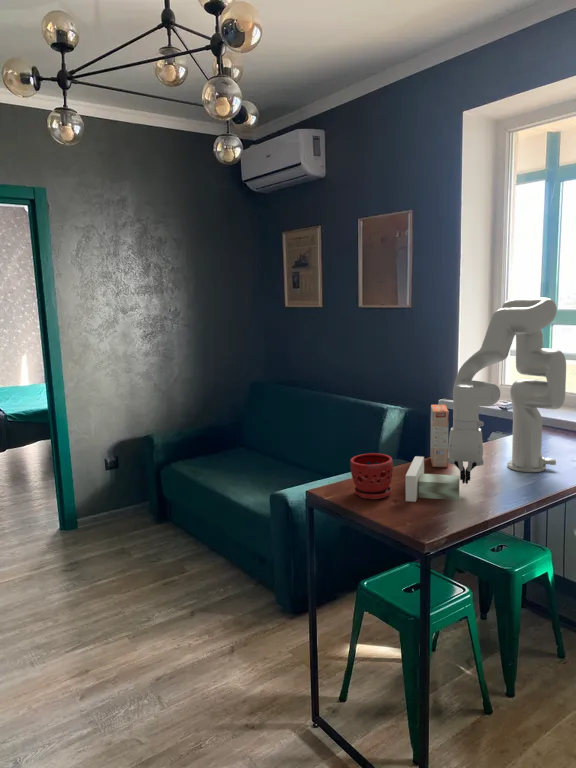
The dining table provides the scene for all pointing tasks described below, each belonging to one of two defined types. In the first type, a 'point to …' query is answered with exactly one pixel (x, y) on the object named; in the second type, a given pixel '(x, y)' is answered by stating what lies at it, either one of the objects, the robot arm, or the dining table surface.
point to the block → (439, 486)
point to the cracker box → (439, 435)
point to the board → (414, 478)
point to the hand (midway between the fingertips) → (465, 482)
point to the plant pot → (372, 475)
